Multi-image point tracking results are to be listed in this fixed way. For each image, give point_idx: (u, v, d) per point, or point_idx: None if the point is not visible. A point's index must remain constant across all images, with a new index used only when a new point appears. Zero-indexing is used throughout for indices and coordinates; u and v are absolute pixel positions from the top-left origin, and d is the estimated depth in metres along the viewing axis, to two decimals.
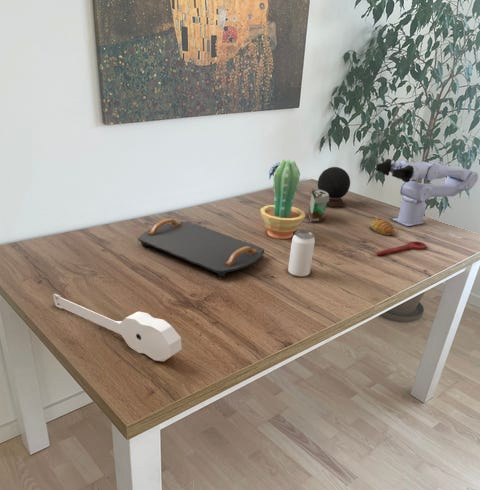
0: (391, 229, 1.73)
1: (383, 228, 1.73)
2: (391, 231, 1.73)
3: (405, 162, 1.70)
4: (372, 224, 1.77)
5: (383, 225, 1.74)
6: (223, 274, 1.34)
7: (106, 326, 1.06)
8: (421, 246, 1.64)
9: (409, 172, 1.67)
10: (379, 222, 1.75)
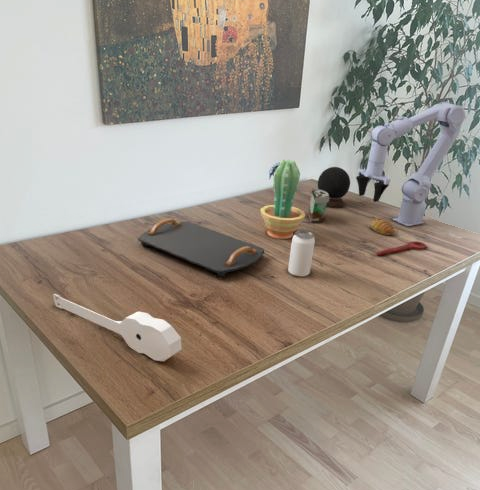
0: (391, 229, 1.73)
1: (383, 228, 1.73)
2: (391, 231, 1.73)
3: (369, 176, 1.73)
4: (372, 224, 1.77)
5: (383, 225, 1.74)
6: (223, 274, 1.34)
7: (106, 326, 1.06)
8: (421, 246, 1.64)
9: None
10: (379, 222, 1.75)
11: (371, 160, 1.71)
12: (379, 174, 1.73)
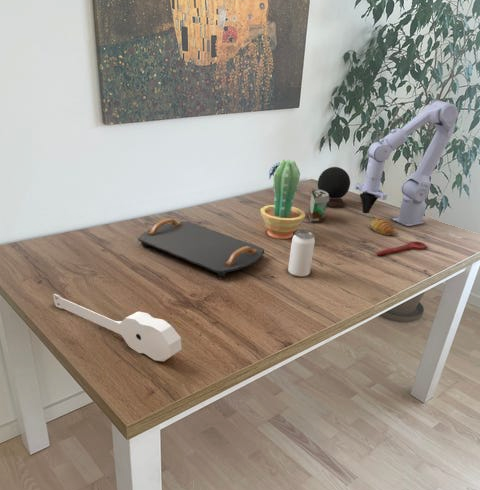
0: (391, 229, 1.73)
1: (383, 228, 1.73)
2: (391, 231, 1.73)
3: (366, 192, 1.76)
4: (372, 224, 1.77)
5: (383, 225, 1.74)
6: (223, 274, 1.34)
7: (106, 326, 1.06)
8: (421, 246, 1.64)
9: None
10: (379, 222, 1.75)
11: (368, 176, 1.74)
12: (375, 189, 1.75)
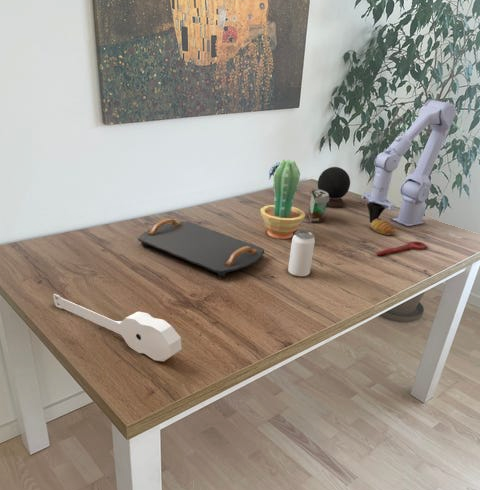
0: (391, 229, 1.73)
1: (383, 228, 1.73)
2: (391, 231, 1.73)
3: (373, 202, 1.74)
4: (372, 224, 1.77)
5: (383, 225, 1.74)
6: (223, 274, 1.34)
7: (106, 327, 1.06)
8: (421, 246, 1.64)
9: None
10: (379, 222, 1.75)
11: (377, 186, 1.71)
12: (383, 199, 1.73)
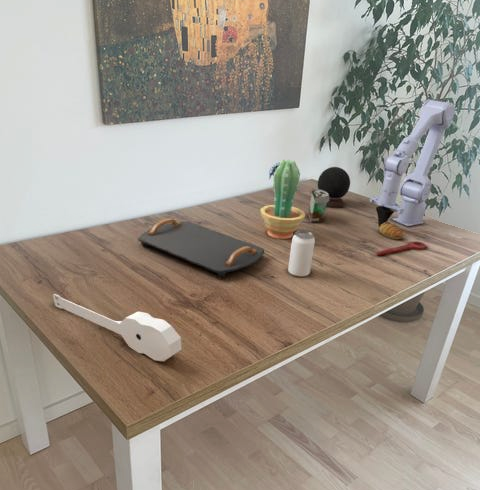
0: (400, 233, 1.70)
1: (392, 232, 1.70)
2: (400, 235, 1.70)
3: (382, 205, 1.71)
4: (381, 228, 1.74)
5: (392, 229, 1.71)
6: (223, 274, 1.34)
7: (106, 327, 1.06)
8: (421, 246, 1.64)
9: None
10: (388, 226, 1.72)
11: (388, 190, 1.68)
12: (392, 203, 1.70)
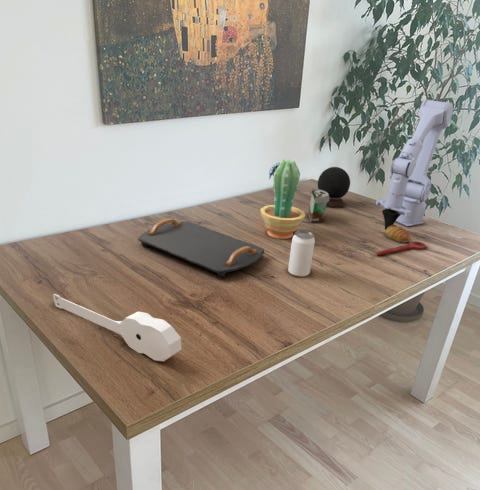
0: (407, 236, 1.68)
1: (399, 235, 1.68)
2: (407, 238, 1.67)
3: (388, 208, 1.69)
4: (387, 231, 1.72)
5: (399, 232, 1.69)
6: (223, 274, 1.34)
7: (106, 327, 1.06)
8: (421, 246, 1.64)
9: None
10: (394, 229, 1.70)
11: (396, 193, 1.66)
12: (399, 206, 1.68)
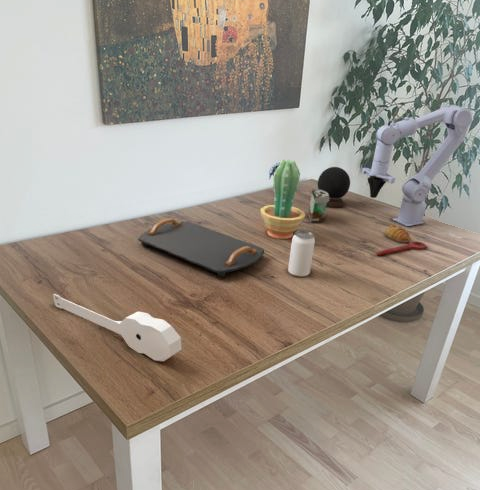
0: (407, 236, 1.68)
1: (399, 235, 1.68)
2: (407, 238, 1.67)
3: (374, 175, 1.75)
4: (387, 231, 1.72)
5: (399, 232, 1.69)
6: (223, 274, 1.34)
7: (105, 327, 1.06)
8: (421, 246, 1.64)
9: None
10: (394, 229, 1.70)
11: (375, 159, 1.73)
12: (383, 173, 1.74)
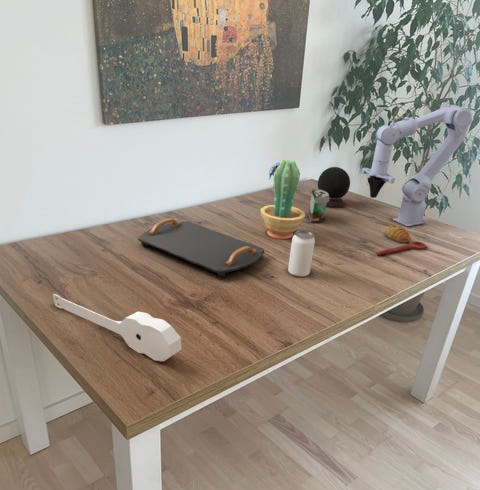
0: (407, 236, 1.68)
1: (399, 235, 1.68)
2: (407, 238, 1.67)
3: (373, 175, 1.75)
4: (387, 231, 1.72)
5: (399, 232, 1.69)
6: (223, 274, 1.34)
7: (105, 327, 1.06)
8: (421, 246, 1.64)
9: None
10: (394, 229, 1.70)
11: (375, 159, 1.73)
12: (383, 173, 1.74)
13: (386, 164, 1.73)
